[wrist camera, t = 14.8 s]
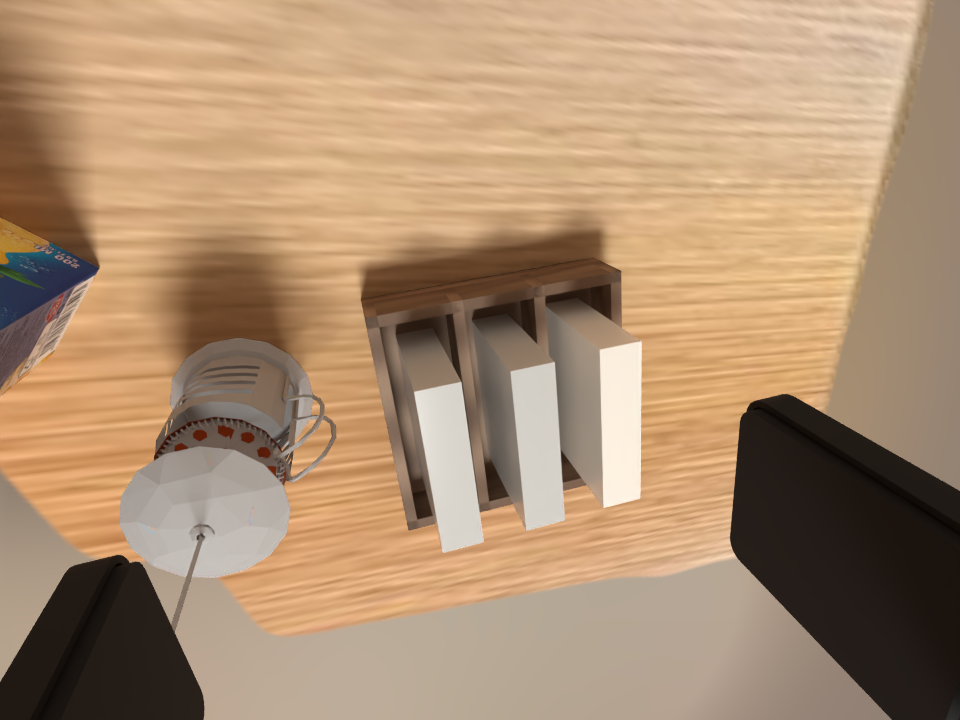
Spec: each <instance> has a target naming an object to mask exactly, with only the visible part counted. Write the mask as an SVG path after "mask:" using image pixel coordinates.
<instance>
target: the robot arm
mask: <svg viewBox="0 0 960 720" xmlns="http://www.w3.org/2000/svg"><path fill="white" fill-rule="evenodd" d="M730 542H731V546H732V549H733V551H734V553H735V555H736V557H737V558H738V559H739V560H740V562H741V563H742V564H743V565H744V566H745V567H746V568H747V569H748V570H749V571H750V572H751V573H752V574H753V575H754V576H755V577H756V578H757V579H758V580H759V581H760V582H761V584H763V586H765V588H766V589H767V590H768V591H769V592H770V593H771V594H772V595H773V596H774V597H775V598H776V599H777V600H778V601H779V602H780V603H781V604H782V605H783V606H784V607H785V609H786V610H787V611H788V612H789V613H790V614H791V615H792V616H793V617H794V618H795V619H796V620H797V621H798V622H799V623H800V624H801V625H802V626H803V627H804V628H805V629H806V630H807V632H809V633H810V635H811V636H812V637H813V638H814V639H815V640H816V641H817V642H818V643H819V644H820V645H821V646H822V647H823V648H824V649H825V650H826V651H827V652H828V653H829V654H830V656H832V658H833V659H834V660H835V661H836V662H837V663H838V664H839V665H840V666H841V667H842V668H843V669H844V670H845V671H846V672H847V673H848V674H849V675H850V676H851V677H852V678H853V679H854V680H855V682H856V683H857V684H858V685H859V686H860V687H861V688H862V689H863V690H864V691H865V692H866V693H867V694H868V695H869V696H870V697H871V698H872V699H873V700H874V701H875V702H876V703H877V705H879V707H880V708H882V710H883V711H884V712H885V713H886V714H887V715H888V716H889V717H890V718H891V719H892V720H960V491H959V490H957V489H955V488H954V487H952V486H950V485H948V484H947V483H945V482H943V481H941V480H939V479H938V478H936V477H934V476H932V475H931V474H929V473H927V472H925V471H924V470H922V469H920V468H918V467H917V466H915V465H913V464H911V463H910V462H908V461H906V460H904V459H903V458H901V457H899V456H897V455H896V454H894V453H892V452H890V451H889V450H887V449H885V448H883V447H882V446H880V445H878V444H876V443H875V442H873V441H871V440H869V439H867V438H866V437H864V436H862V435H860V434H859V433H857V432H855V431H853V430H852V429H850V428H848V427H846V426H845V425H843V424H841V423H839V422H838V421H836V420H834V419H832V418H831V417H829V416H827V415H825V414H824V413H822V412H820V411H818V410H817V409H815V408H813V407H811V406H810V405H808V404H806V403H804V402H803V401H801V400H799V399H797V398H796V397H794V396H791V395H788V394H782V395H778V396H773V397H769V398H765V399H761V400H757V401H754V402H752V403H750V405H749V406H748V408H747V412H746V413H744V414H743V415H742V417H741V420H740V429H739V441H738V453H737V464H736V476H735V487H734V499H733V510H732V522H731V533H730ZM203 719H204V700H203V694H202V691H201V689H200V686H199V685H198V682H197V680H196V678H195V676H194V674H193V671H192V669H191V667H190V665H189V663H188V661H187V658H186V656H185V654H184V652H183V650H182V648H181V646H180V644H179V641H178V639H177V637H176V635H175V633H174V630H173V628H172V626H171V624H170V622H169V620H168V618H167V616H166V613H165V611H164V609H163V607H162V605H161V602H160V600H159V598H158V596H157V594H156V592H155V589H154V587H153V585H152V583H151V581H150V579H149V577H148V575H147V572H146V570H145V568H144V567H143V565H142V564H141V563H140V562H132V563H129V561H128V560H127V559H126V558H125V557H124V556H122V555H115V556H111V557H107V558H103V559H99V560H95V561H91V562H86V563H82V564H78V565H75V566H73V567H71V568H69V569H68V570H67V572H66V573H65V574H64V576H63V577H62V579H61V581H60V583H59V584H58V586H57V588H56V590H55V591H54V593H53V594H52V596H51V598H50V599H49V601H48V603H47V604H46V606H45V608H44V609H43V611H42V613H41V615H40V616H39V618H38V620H37V621H36V623H35V625H34V626H33V628H32V630H31V631H30V633H29V635H28V636H27V638H26V640H25V641H24V643H23V645H22V647H21V648H20V650H19V652H18V653H17V655H16V657H15V658H14V660H13V662H12V664H11V665H10V667H9V668H8V670H7V672H6V673H5V675H4V677H3V678H2V680H1V682H0V720H203Z"/></svg>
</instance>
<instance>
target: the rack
mask: <svg viewBox="0 0 960 720" xmlns="http://www.w3.org/2000/svg"><path fill="white" fill-rule="evenodd" d="M574 298H578V299H580V300H581V301H583V302H584V303H585V304H587V305H588V306H590V307H591V308H593V309H594V310H596V311H597V312H599V313H600V314H602V315H603V316H605V317H606V318H608V319H609V320H611V321H612V322H614V323H615V324H617V325H618V326H620V327H621V328H622V310H621V271H620V270H618V269H616V268H614V267H612V266H610V265H608V264H606V263H604V262H601V261H599V260H597V259H595V258H591V259H586V260H580V261H574V262H569V263H563V264H558V265H552V266H546V267H541V268H535V269H529V270H524V271H518V272H513V273H507V274H501V275H496V276H490V277H485V278H479V279H473V280H468V281H462V282H457V283H451V284H445V285H440V286H434V287H429V288H423V289H417V290H412V291H406V292H400V293H395V294H389V295H384V296H378V297H372V298H367V299H361V302H362V307H363V312H364V317H365V322H366V327H367V332H368V337H369V341H370V346H371V351H372V356H373V361H374V366H375V370H376V375H377V380H378V385H379V390H380V394H381V399H382V404H383V409H384V414H385V419H386V423H387V428H388V433H389V438H390V443H391V448H392V452H393V457H394V462H395V467H396V472H397V477H398V481H399V486H400V491H401V496H402V501H403V506H404V510H405V515H406V520H407V525H408V530H413V529H417V528H421V527H425V526H429V525H432V524H435V522H434V518H433V515H432V511H431V507H430V504H429V500H428V496H427V493H426V489H425V485H424V482H423V478H422V474H421V471H420V465H419V460H418V455H417V449H416V444H415V439H414V433H413V428H412V422H411V417H410V412H409V406H408V401H407V396H406V390H405V385H404V379H403V374H402V369H401V363H400V358H399V353H398V347H397V342H396V336H395V335H397V334H403V333H408V332H413V331H418V330H423V329H429V328H433V330H434V331H435V333H436V335H437V337H438V339H439V341H440V343H441V345H442V346H443V348H444V350H445V352H446V354H447V356H448V358H449V360H450V361H451V363H452V365H453V367H454V369H455V371H456V373H457V375H458V377H459V378H460V380H461V383H462V390H463V397H464V405H465V412H466V419H467V426H468V433H469V440H470V447H471V455H472V462H473V469H474V476H475V483H476V490H477V497H478V505H479V512H483V511H487V510H491V509H495V508H499V507H503V506H506V505H510V504H513V503H512V501H511V499H510V497H509V495H508V493H507V491H506V489H505V487H504V485H503V483H502V481H501V479H500V477H499V475H498V473H497V471H496V469H495V467H494V465H493V463H492V461H491V459H490V457H489V455H488V447H487V439H486V431H485V423H484V415H483V407H482V399H481V391H480V384H479V376H478V368H477V360H476V352H475V344H474V336H473V328H472V320H476V319H481V318H486V317H491V316H496V315H502V314H508V315H509V316H510V317H511V318H512V319H513V320H514V321H515V322H516V323H517V324H518V325H519V326H520V327H521V328H522V329H523V330H524V331H525V332H526V333H527V334H528V335H529V336H530V337H531V338H532V339H533V340H534V341H535V342H536V343H537V344H538V345H539V346H540V347H541V348H542V350H543V351H544V352H545V353H546V354H547V355H548V356H549V350H548V335H547V320H546V306H545V304H547V303H552V302H558V301H563V300H568V299H574ZM560 451H561V467H562V482H563V491H565V490H569V489H573V488H577V487H581V486H584V485H586V483H585V482H584V481H583V479H582V478H581V476H580V475H579V474H578V472H577V471H576V470H575V468H574V467H573V466H572V464H571V463H570V461H569V460H568V459H567V457H566V456H565V455H564V453H563V452H562V450H561V449H560Z"/></svg>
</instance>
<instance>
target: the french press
mask: <svg viewBox="0 0 960 720" xmlns="http://www.w3.org/2000/svg"><path fill="white" fill-rule="evenodd" d="M313 399H314V400H316V401H317V402H318V403H319V405H320V415H311V416H310V414H311V409H312V404H313ZM170 405H171V407H172V410H173V411H172V412H171V414H170V416H169V418H168V420H167V421H166V423H165V425H164V427H163V429H162V431H161V432H160V434H159V436H158V438H157V440H156V451H155V455H154V461H153V462H151V463H150V464H148V465H147V466H145V467H143V468H142V469H140V470H139V471H137V472H136V474H135V476H134V477H133V479H132V480H131V482H130V484H129V485H128V487H127V488H126V490H125V492H124V493H123V495H122V496H121V505H120V518H119V525H120V527H121V529H122V531H123V533H124V535H125V537H126V539H127V541H128V543H129V545H130V548H131V549H132V550H134V551H135V552H136V553H137V554H139V555H140V556H141V557H142V558H144V559H145V560H146V561H147V562H149V563H150V564H151V565H152V566H154V567H157V568H160V569H163V570H166V571H168V572H171V573H174V574H177V575H180V576H183V577H186V580H185V583H184V586H183V589H182V592H181V596H180V599H179V602H178V605H177V608H176V611H175V614H174V617H173V621H172V624H171V626H172V628H173V630H174V633H175V629H176V626H177V623H178V620H179V617H180V613H181V610H182V607H183V604H184V600H185V597H186V594H187V591H188V587H189V584H190V581H191V578H192V577H206V578H217V577H220V576H224V575H228V574H232V573H236V572H240V571H244V570H247V569H248V568H250V567H252V566H253V565H255V564H256V563H258V562H260V561H261V560H263V559H264V558H266V557H268V556H269V555H271V553H272V552H273V551H274V549H275V548H276V547H277V545H278V544H279V543H280V541H281V540H282V539H283V538H284V536H285V535H286V534H287V528H288V522H289V515H290V505H289V502H288V499H287V495H286V492H285V488H284V483H285V481H289V482H294V481H297V480H298V479H300V478H301V477H303V476H304V475H305V474H307V473H308V472H310V471H311V470H312V469H314V468H315V467H316V466H317V465H318V464H319V462H320V461H321V460H322V459H323V458H324V457H325V456H326V454H327V453H328V451H329V450H330V448H331V446H332V445H333V443H334V441H335V439H336V425H335V424H334V422H333V421H332V420H331V419H329V418H328V417H326V416H324V404H323V402H322V400H321V399H320V398H318V397H317V396H315V395H313V394H312V390H311V386H310V383H309V379H308V375H307V374H306V373H305V372H304V370H303V369H302V368H301V367H300V365H299V364H298V363H297V362H296V361H295V359H294V358H293V357H292V356H291V355H290V354H288V353H286V352H284V351H282V350H280V349H279V348H277V347H275V346H273V345H271V344H270V343H268V342H264V341H257V340H251V339H245V338H233V339H228V340H222V341H217V342H212V343H209V344H207V345H206V346H204V347H202V348H201V349H199V350H198V351H196V352H195V353H193V354H191V355H190V356H188V357H187V358H186V359H185V361H184V362H183V364H182V365H181V367H180V368H179V370H178V371H177V373H176V374H175V376H174V378H173V379H172V388H171V399H170ZM172 419H173V422H172V425H171V427H170V424H171V420H172ZM311 419H317V421H316V422H315V424H314V426H313V427H312V428H311V429H310V430H309V431H308V432H307V433H306V434H305V435H304V436H303V437H302V438H301V439H300V440H299V441H298V442H297V443H296V444H294V442H295V439H296V438H297V437H298V436H299V434H300V433H301V431H302V430H303V428H304V427H305V426H306V424H307V423H308V421H309V420H311ZM322 419H324V420H325V421H327V422H328V423H330V425H331V433H332V437H331V440H330V442H329V444H328V446H327V447H326V449H325V450H324V452H323V453H322V455H321V456H320V457H319V458H318V459H317V460H316V461H315V462H314V463H313V464H312V465H311V466H309V467H308V468H306V469H305V470H303V471H302V472H300V473H299V474H297V475H296V476H295V477H291V475H290V471H291V465H292V458H293V451H294V449H296V448H298V447H299V446H301V445H302V444H303V443H304V442H305V441H306V440H307V439H308V438H309V437H310V436H311V435H312V434H313V433H314V432H315V431H316V430H317V428H318V427H319V425H320V423H321V421H322ZM167 423H168V431H167V435H166V436H165V431H166V425H167ZM164 437H165V438H164ZM286 445H287V446H286ZM284 446H286V447H285V449H284V450H283V451H282V448H283V447H284ZM289 446H290V448H289ZM290 452H291V453H290ZM289 453H290V456H289V458H288V460H287V461H286V459H287V457H288V455H289ZM290 458H291V461H290ZM289 461H290V463H289ZM288 463H289V464H288Z"/></svg>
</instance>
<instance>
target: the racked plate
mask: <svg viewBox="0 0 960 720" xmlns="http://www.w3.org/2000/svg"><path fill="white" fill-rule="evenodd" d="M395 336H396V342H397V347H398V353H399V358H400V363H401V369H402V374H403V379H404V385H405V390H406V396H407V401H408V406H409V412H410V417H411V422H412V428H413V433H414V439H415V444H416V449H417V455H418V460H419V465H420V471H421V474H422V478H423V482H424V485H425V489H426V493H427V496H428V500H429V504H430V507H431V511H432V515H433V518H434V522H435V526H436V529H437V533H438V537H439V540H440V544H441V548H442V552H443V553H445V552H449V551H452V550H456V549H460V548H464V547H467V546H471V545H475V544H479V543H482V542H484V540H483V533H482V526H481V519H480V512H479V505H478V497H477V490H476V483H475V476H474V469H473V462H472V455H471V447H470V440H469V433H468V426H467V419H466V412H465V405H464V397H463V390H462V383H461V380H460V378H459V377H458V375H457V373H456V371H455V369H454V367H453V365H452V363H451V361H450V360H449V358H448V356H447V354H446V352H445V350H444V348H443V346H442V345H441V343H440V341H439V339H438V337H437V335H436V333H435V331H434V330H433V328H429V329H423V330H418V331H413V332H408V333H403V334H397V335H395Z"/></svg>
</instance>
